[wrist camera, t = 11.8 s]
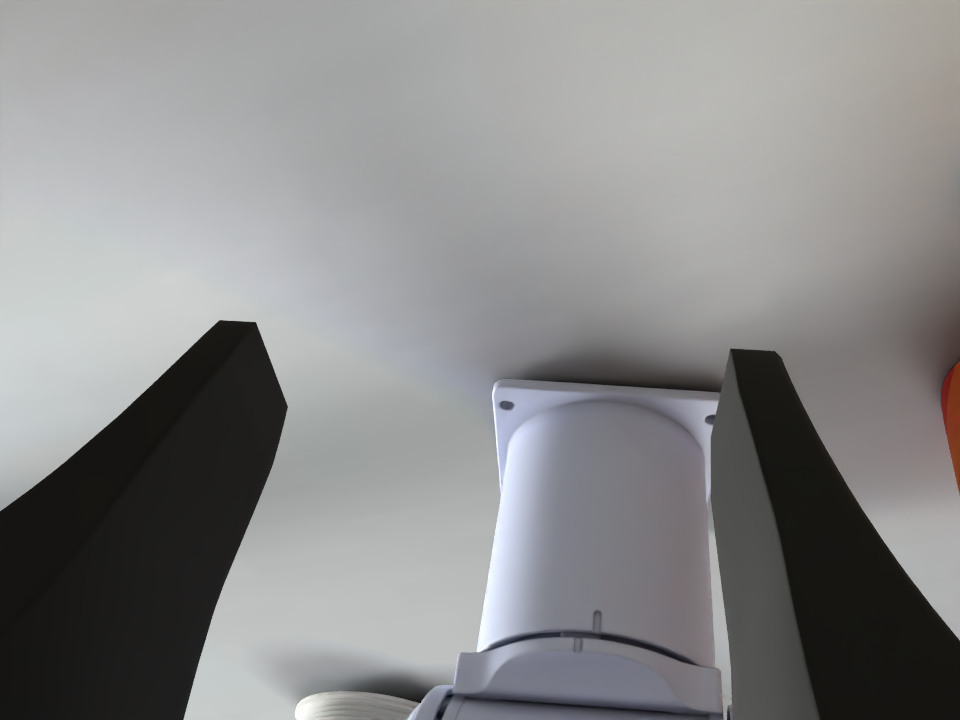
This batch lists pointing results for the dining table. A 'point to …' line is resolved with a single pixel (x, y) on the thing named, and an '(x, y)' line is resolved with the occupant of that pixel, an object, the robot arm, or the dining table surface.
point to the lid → (353, 706)
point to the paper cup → (952, 416)
